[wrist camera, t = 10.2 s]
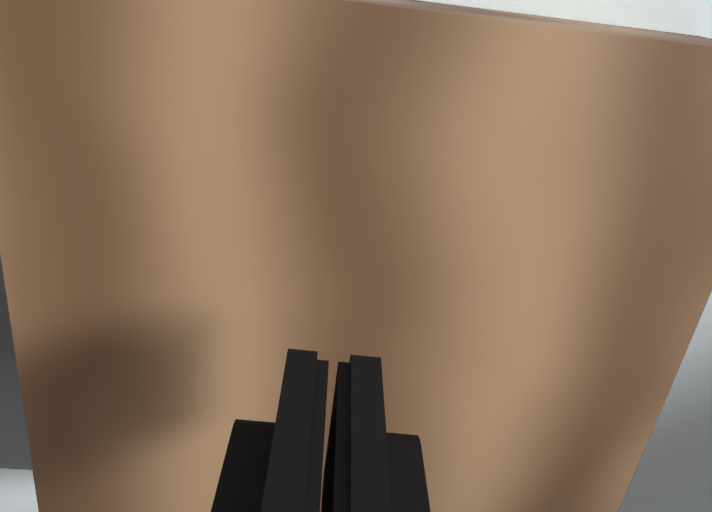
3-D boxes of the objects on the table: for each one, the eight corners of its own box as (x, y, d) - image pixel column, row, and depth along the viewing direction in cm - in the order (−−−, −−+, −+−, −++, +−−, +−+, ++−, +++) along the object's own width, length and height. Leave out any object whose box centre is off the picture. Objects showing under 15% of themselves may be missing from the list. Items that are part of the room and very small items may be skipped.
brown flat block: (698, 36, 16) (810, 58, 12) (556, 451, 22) (602, 549, 18) (50, -46, 14) (-46, -49, 11) (92, 421, 20) (40, 521, 17)
